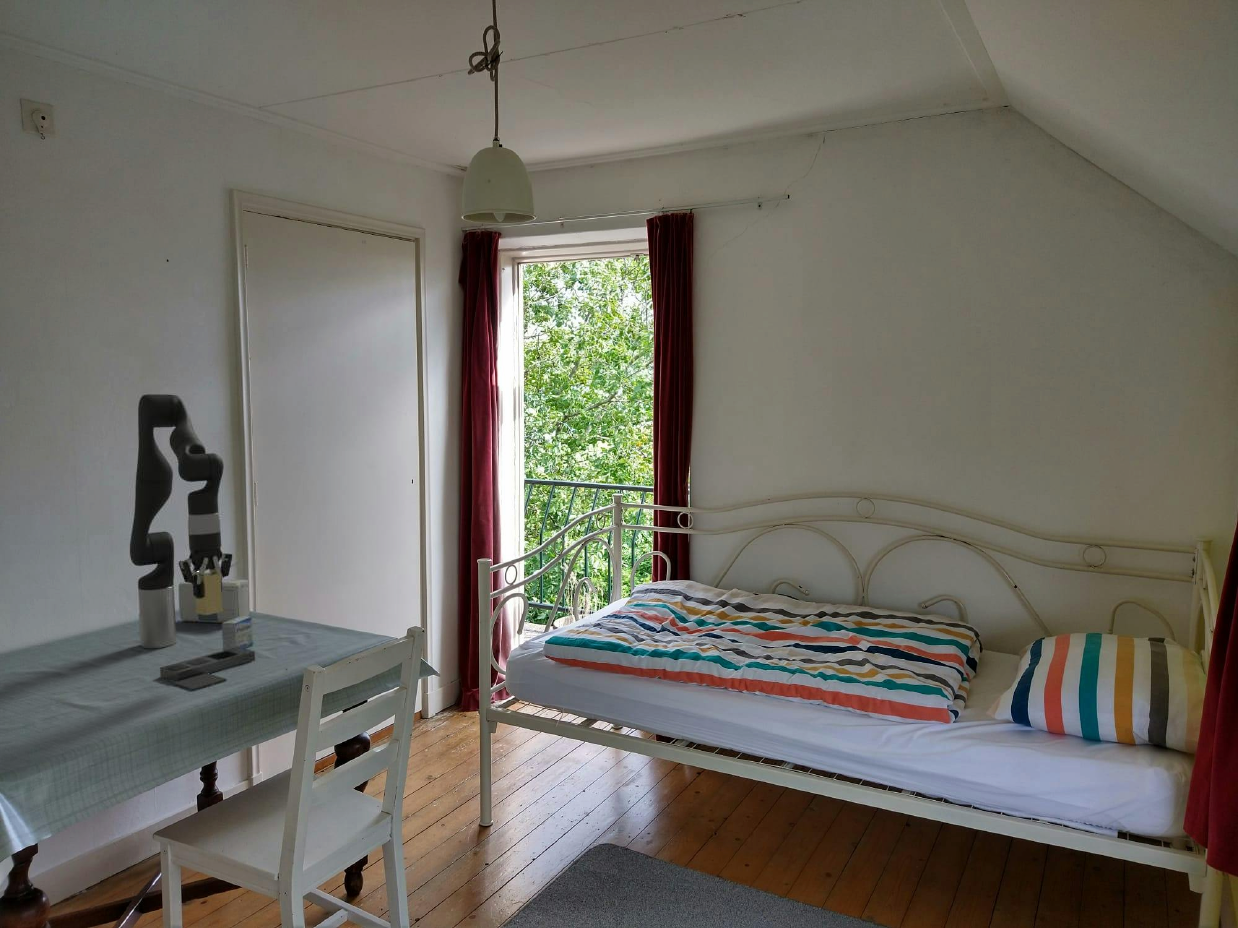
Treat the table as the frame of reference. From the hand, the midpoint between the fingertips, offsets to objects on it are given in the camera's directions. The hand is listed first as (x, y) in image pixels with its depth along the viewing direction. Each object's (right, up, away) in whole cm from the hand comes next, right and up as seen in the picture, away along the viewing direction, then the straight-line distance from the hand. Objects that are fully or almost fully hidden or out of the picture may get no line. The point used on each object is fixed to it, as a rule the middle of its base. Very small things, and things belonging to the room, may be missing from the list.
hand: (208, 595), depth 225 cm
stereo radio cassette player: (-25, -17, +57) cm, 65 cm away
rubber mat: (0, -22, -4) cm, 22 cm away
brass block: (0, -4, 0) cm, 4 cm away
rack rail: (-3, -21, +8) cm, 22 cm away
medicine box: (-3, -20, +26) cm, 32 cm away
